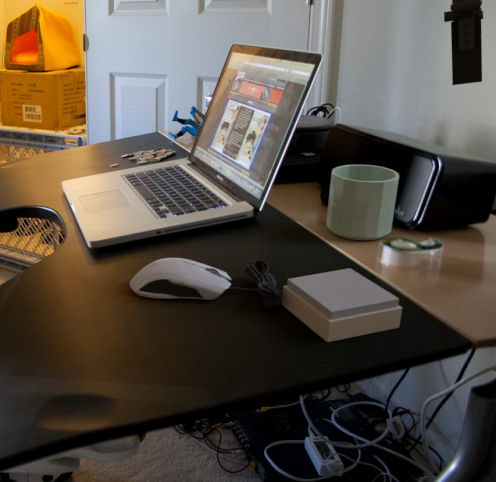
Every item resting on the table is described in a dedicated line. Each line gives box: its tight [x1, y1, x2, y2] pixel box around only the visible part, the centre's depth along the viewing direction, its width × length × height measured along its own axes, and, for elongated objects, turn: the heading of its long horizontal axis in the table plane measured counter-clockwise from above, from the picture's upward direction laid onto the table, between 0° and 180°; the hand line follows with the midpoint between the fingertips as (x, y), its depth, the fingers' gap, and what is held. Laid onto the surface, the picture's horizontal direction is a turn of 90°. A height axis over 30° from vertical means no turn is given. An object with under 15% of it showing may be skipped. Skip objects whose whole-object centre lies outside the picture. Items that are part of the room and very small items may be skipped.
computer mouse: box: [129, 257, 282, 310], centre depth 78 cm, size 10×18×4 cm, turn 80°
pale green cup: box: [325, 164, 400, 241], centre depth 94 cm, size 9×9×9 cm
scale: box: [281, 267, 403, 343], centre depth 71 cm, size 9×9×4 cm
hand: (466, 80), depth 73 cm, fingers open, 13 cm apart
